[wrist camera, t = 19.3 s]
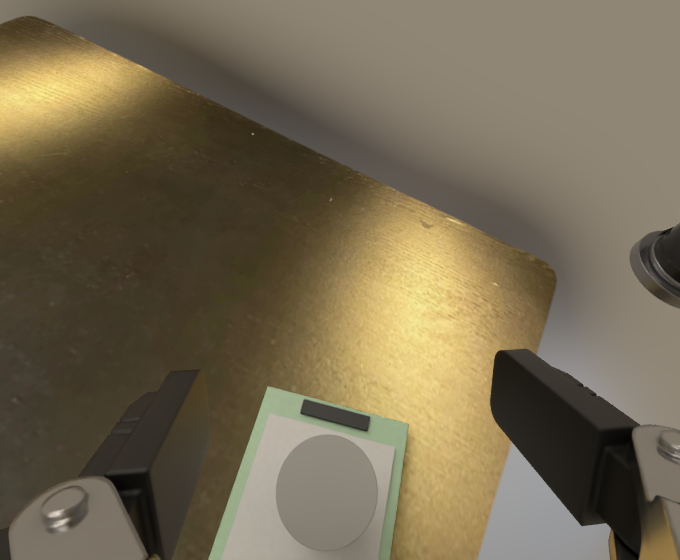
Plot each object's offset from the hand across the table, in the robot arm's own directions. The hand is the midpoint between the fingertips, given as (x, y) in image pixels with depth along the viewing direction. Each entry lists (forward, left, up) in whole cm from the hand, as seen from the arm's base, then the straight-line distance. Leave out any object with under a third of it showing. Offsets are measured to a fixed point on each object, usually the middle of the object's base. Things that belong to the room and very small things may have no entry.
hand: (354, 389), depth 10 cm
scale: (0, +2, -27) cm, 27 cm away
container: (0, +2, -24) cm, 24 cm away
